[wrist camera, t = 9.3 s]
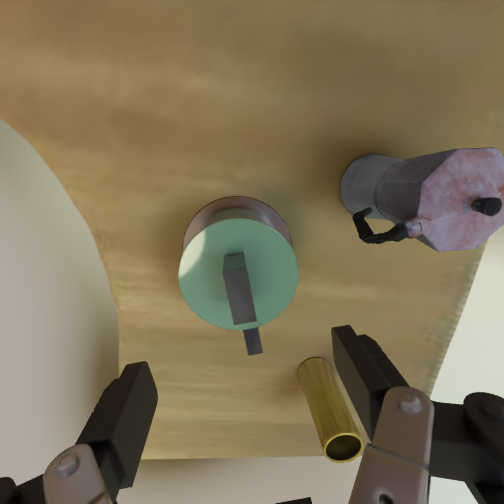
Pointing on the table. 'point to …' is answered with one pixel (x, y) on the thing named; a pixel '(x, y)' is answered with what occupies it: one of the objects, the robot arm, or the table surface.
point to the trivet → (235, 203)
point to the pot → (238, 273)
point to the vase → (329, 411)
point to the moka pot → (428, 197)
